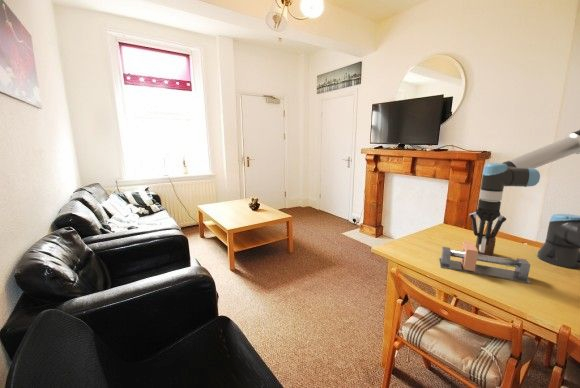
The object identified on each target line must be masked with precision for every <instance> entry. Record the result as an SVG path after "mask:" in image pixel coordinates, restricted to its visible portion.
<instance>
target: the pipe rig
mask: <svg viewBox="0 0 580 388" xmlns="http://www.w3.org/2000/svg"><path fill="white" fill-rule="evenodd" d="M451 257H453V258H459V259H461V258H462V259H464V257H465V251H463V252H462V250H454V249H451V247H447V246H442V249H441V256H440V257H439V258H438V260H439V265H440V268H441V269H447V270H453V271H459V272H463V273H468V274H475V275H480V276H486V277H491V278H497V279H503V280H507V281H512V282H513V281H514V282H519V283H524V284H529V285H531V284H532V283H531V281H530V280H529V273H530V269H531V263H530V262H529V261H528V260H527V259H526V258H525V259H524V258H519V257H517V258H516V259H512V258H506V257H501V256H500V257H499V256H493V255H492V256H488V255H482V254H477V260H476V262H484V263H490V264H496V265H502V266H507V267H514V270H512V269H507V268H499V267H493V266H488V265H483V264H482V265H481V264H477V263H476V266H475V271H470V270H464V268H463V266H462V263H461V260H460V261H459V260H454V259H453V260H452V259H451Z"/></svg>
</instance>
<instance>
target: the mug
mask: <svg viewBox="0 0 580 388" xmlns="http://www.w3.org/2000/svg"><path fill="white" fill-rule="evenodd" d="M485 234H486V233H483V237H485ZM496 240H497V239H496V237H495V238H490V239H489V244H488V245H485V251H484V253H482V252H480V251H479V246H480V244H478V242H477V241H478V236H476V243H475V246H476V248H477V250H478V254H482V255H488V256H493V255H494V253H495V248H496V247H495V246H496Z"/></svg>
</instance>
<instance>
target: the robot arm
mask: <svg viewBox="0 0 580 388" xmlns="http://www.w3.org/2000/svg"><path fill="white" fill-rule="evenodd" d="M574 154H575V155H580V129H579V130H577V131H574V132H571V133H569V134H566V135H565V136H564V138H562V139H560V140H557V141H555V142H552V143H549V144H547V145H545V146H543V147H539V148H537V149H534V150H531V151H528V152H527V153H524V154H522V155H519V156H517V157H515V158H512V159H510V160H507V161H504V162H487V163H485V165H484V166H483V171H482V179H481V185H480V191H479V199H478V203H477V209H476V210H475V212H472V213H471V212H470V213H468V214H469V217H470V218H471V225H472V231H473V234H474V236H476V237H477V236H478V241H477V240H476V241H477V242H478V244H480V246H479V251H480V252H482V253H484V251H485V245H488V244H489V239H490V238H496V237H497V236H498V232H499V231H500V229H501V226H502V225H503V223H504V222H506V221H507V217H505V216H504V215H502V214H501V211H500V210H501V206H502V205H501V204H502V202H501V201H502V199H503V193H504V189H505V188H504V187H521V188H522V187H524V188H527V187H534V186H536V185H538V184H539V182H540V179H541V174H540V171H539V170H538V169H536V168H540V167H542V166H545V165H547V164H550V163H552V162H556V161H558V160H561V159H563V158H566V157H569V156H571V155H574ZM477 217H478V218H479V227H478V226H477V225H478V224H477V220H476V218H477ZM495 220H497V221H496V223H495V225H494V227H493V223H494V221H495ZM486 222H487V224H486ZM485 225H486V230H485ZM484 232H485V233H484ZM483 234H485V237H483ZM536 256H537V258H538V259H540V260H542V261H544V262H545V263H549V264H550V265H555V266H558V267H563V268H569V269H570V268H571V269H579V268H580V215H578V214H569V213H568V214H567V213H555V214H552V215H551V217H550V220H549V222H548V227H547V231H546V238H545V242H544V243H543V245H542V246H541V247H540V248H539V250H538V251H537V255H536Z"/></svg>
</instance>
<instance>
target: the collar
mask: <svg viewBox="0 0 580 388" xmlns="http://www.w3.org/2000/svg"><path fill="white" fill-rule="evenodd" d="M461 251H462V252H463V251H465V257H464V259H462V258H460V262H461V263H462V266H463V268H464V270H470V271H475V266H476V264H477V261H476V260H477V254H478V250H477V248H476V243H474V242H470V241H463V242H462V250H461Z"/></svg>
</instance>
